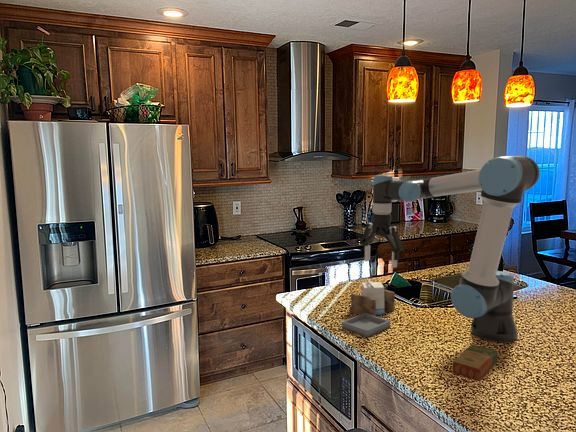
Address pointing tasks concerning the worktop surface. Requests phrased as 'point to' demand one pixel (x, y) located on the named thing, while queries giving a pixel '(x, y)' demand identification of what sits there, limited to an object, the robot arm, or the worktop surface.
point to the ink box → (375, 294)
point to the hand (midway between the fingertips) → (380, 264)
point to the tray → (366, 324)
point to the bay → (371, 303)
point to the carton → (475, 362)
